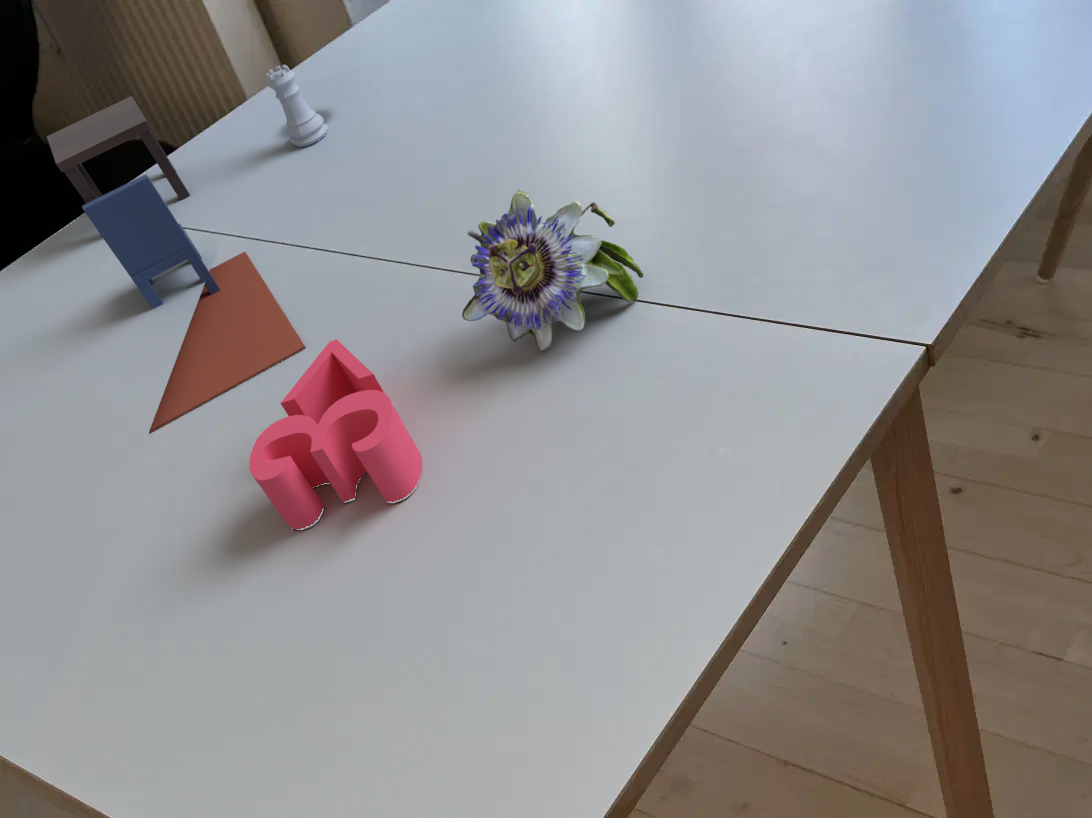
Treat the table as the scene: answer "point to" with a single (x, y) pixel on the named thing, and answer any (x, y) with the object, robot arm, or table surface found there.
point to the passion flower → (543, 270)
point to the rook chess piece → (296, 108)
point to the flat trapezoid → (227, 340)
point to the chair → (145, 235)
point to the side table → (107, 145)
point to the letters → (333, 440)
